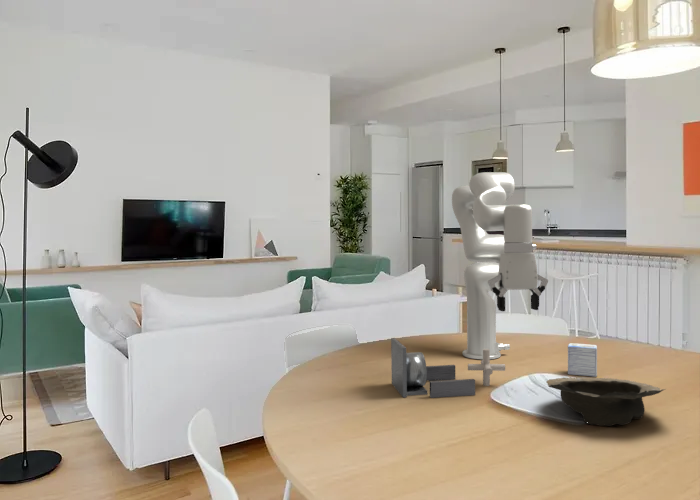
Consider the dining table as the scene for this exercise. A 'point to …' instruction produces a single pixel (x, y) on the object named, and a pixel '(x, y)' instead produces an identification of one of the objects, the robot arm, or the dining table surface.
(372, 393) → the dining table surface
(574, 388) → the stone bowl
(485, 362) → the pipe connector
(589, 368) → the medicine box
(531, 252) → the robot arm
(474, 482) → the dining table surface
